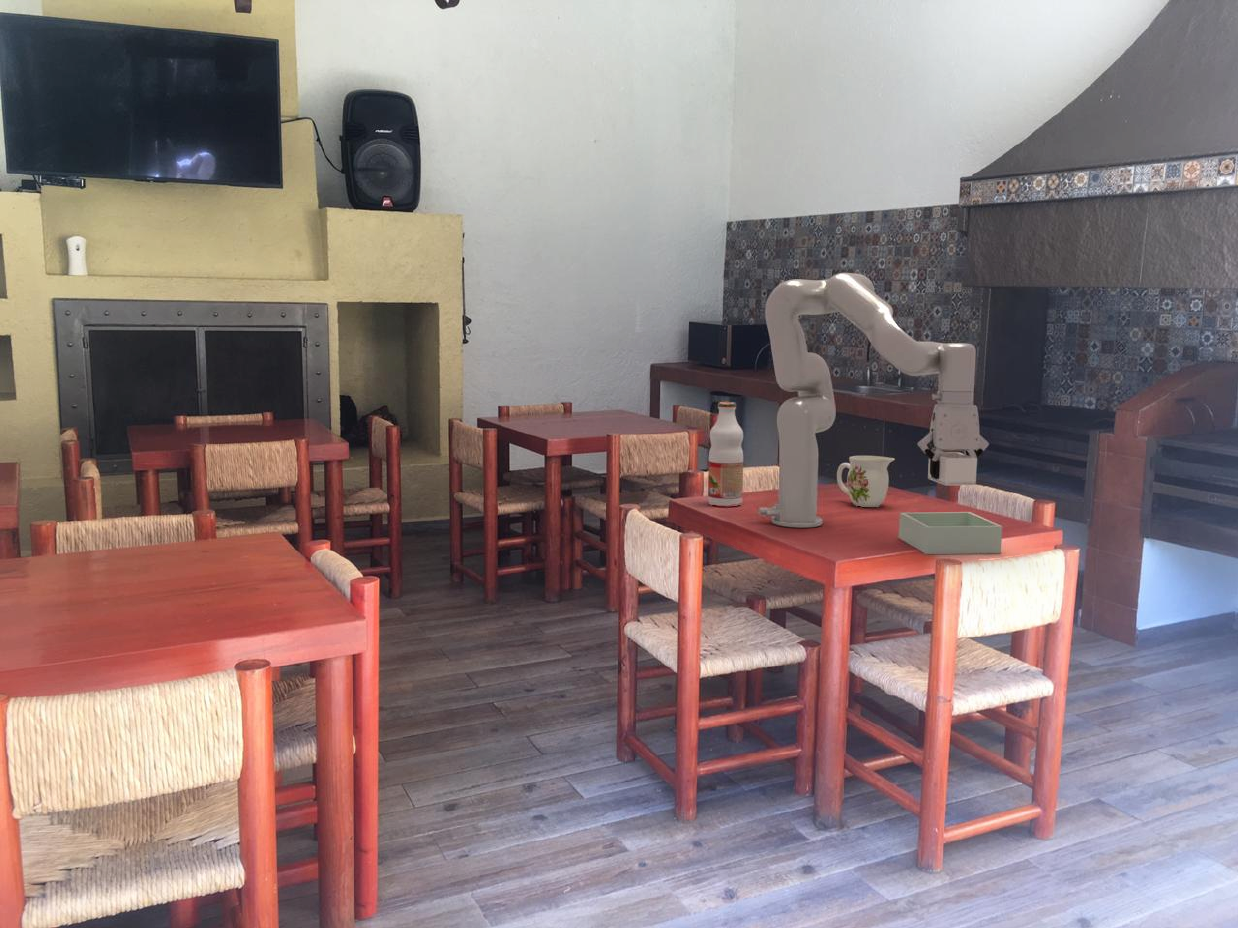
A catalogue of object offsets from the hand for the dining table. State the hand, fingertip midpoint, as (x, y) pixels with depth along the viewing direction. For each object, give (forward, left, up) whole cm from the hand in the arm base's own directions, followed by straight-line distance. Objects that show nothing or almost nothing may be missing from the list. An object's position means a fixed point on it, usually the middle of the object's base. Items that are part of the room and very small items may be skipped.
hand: (951, 477), depth 240 cm
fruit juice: (-41, +54, -16) cm, 70 cm away
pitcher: (-3, +51, -16) cm, 53 cm away
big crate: (0, 0, -16) cm, 16 cm away
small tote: (0, 0, -1) cm, 1 cm away
